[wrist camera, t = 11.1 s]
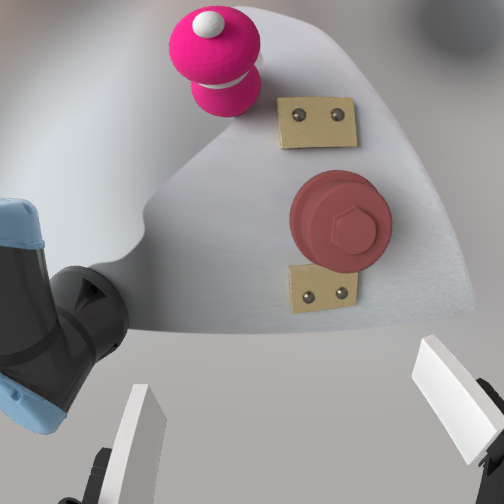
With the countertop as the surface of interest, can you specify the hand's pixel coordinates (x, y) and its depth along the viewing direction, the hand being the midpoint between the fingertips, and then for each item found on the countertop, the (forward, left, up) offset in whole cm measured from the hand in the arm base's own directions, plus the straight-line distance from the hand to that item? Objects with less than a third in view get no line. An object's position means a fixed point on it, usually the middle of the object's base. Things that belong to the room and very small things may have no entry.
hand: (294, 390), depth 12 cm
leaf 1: (+8, -8, -25) cm, 27 cm away
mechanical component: (+8, +3, -25) cm, 27 cm away
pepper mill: (-2, +18, -25) cm, 31 cm away
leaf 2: (+8, +13, -25) cm, 30 cm away
